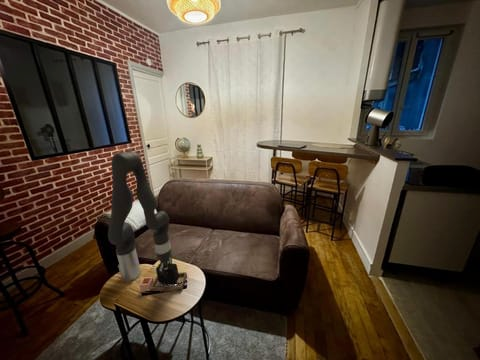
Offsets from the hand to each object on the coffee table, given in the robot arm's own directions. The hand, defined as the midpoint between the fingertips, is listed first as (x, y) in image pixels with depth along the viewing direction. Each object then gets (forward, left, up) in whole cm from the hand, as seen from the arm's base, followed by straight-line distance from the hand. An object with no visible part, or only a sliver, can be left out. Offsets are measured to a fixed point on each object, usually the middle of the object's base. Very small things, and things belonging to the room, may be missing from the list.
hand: (168, 275), depth 105 cm
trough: (0, 0, -6) cm, 6 cm away
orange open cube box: (-11, -3, -6) cm, 13 cm away
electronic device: (0, 0, -4) cm, 4 cm away
